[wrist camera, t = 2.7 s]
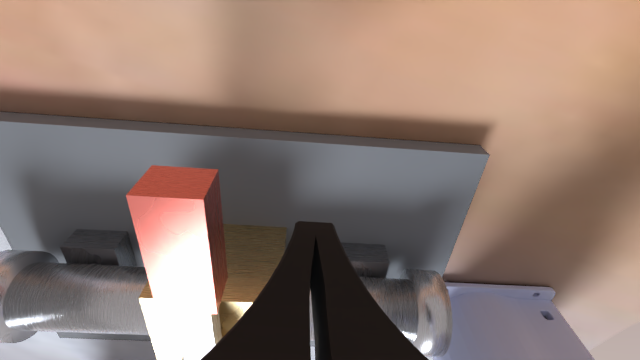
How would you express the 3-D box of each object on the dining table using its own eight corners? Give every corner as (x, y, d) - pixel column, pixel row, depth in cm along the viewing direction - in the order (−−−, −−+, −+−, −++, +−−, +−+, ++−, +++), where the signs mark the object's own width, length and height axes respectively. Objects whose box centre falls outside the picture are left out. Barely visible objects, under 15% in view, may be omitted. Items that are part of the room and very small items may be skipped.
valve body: (431, 235, 21) (469, 318, 16) (409, 302, 24) (434, 389, 19) (22, 212, 20) (-81, 296, 14) (57, 287, 23) (-16, 376, 18)
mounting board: (480, 145, 19) (489, 154, 18) (410, 336, 28) (413, 349, 27) (-37, 109, 17) (-59, 117, 16) (69, 323, 27) (59, 337, 26)
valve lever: (239, 366, 17) (232, 404, 16) (188, 365, 17) (176, 403, 16) (224, 169, 11) (210, 200, 10) (145, 164, 11) (118, 194, 10)
